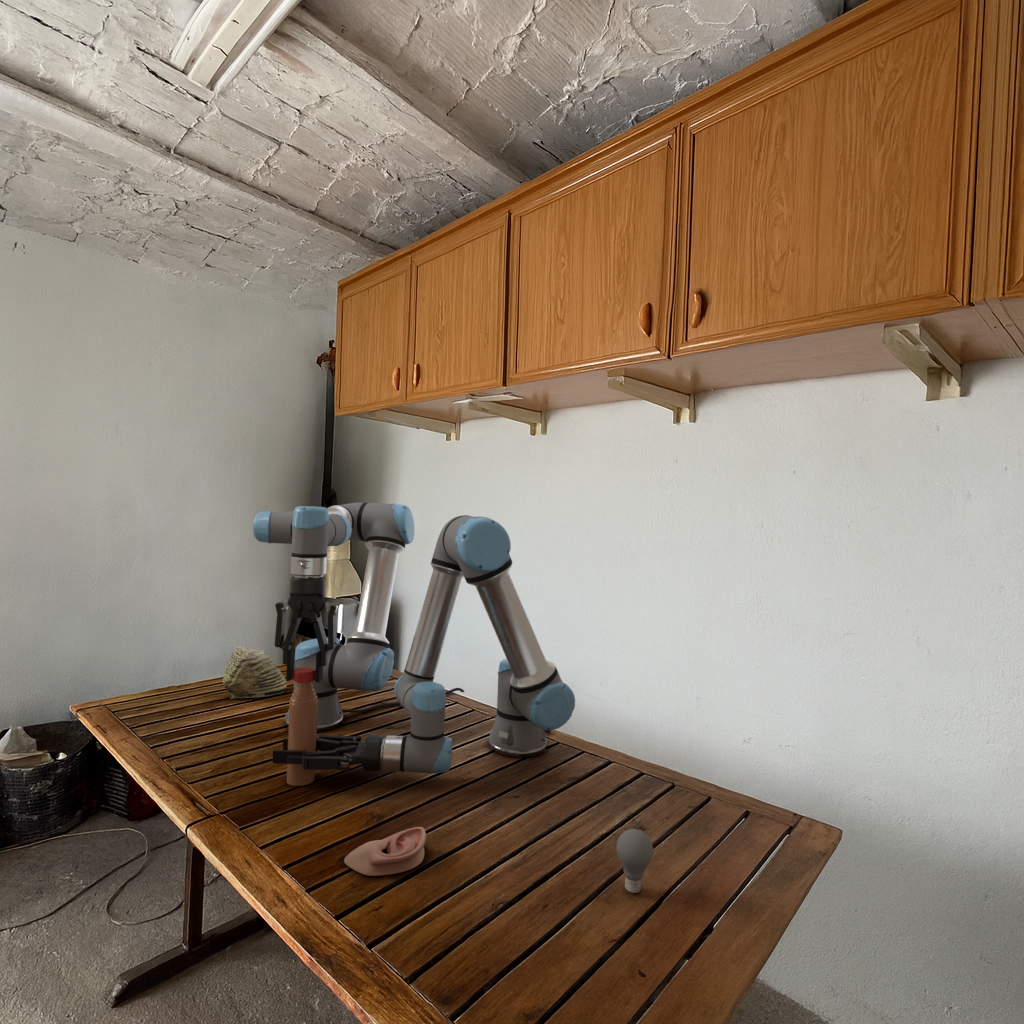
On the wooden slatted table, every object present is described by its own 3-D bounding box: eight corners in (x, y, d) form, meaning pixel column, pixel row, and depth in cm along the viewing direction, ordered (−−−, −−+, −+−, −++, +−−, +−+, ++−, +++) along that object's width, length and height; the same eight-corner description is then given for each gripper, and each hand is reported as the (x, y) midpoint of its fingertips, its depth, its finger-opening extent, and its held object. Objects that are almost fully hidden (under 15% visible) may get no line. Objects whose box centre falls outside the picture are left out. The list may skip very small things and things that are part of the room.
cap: (318, 681, 140) (318, 670, 140) (296, 684, 138) (297, 673, 138) (311, 676, 144) (312, 666, 144) (291, 678, 141) (291, 668, 141)
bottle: (281, 779, 141) (285, 671, 141) (306, 771, 145) (310, 667, 145) (294, 788, 137) (298, 677, 136) (319, 780, 141) (323, 673, 141)
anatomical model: (336, 847, 108) (365, 815, 119) (335, 870, 108) (364, 836, 119) (410, 859, 105) (432, 825, 116) (409, 883, 105) (431, 846, 116)
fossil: (218, 695, 195) (220, 647, 195) (278, 685, 208) (279, 640, 207) (228, 703, 189) (230, 653, 188) (289, 692, 201) (290, 645, 201)
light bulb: (610, 879, 108) (613, 822, 108) (644, 879, 109) (647, 822, 109) (619, 902, 102) (622, 840, 102) (655, 901, 103) (658, 840, 103)
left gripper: (259, 575, 137) (255, 682, 137) (345, 579, 136) (341, 686, 137) (273, 572, 144) (269, 673, 145) (355, 575, 144) (351, 677, 144)
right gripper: (374, 789, 132) (262, 786, 131) (389, 753, 151) (291, 750, 150) (375, 753, 132) (263, 750, 131) (390, 721, 151) (292, 718, 150)
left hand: (304, 679), depth 141 cm, fingers open, 6 cm apart
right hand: (278, 750), depth 141 cm, fingers closed on bottle, 6 cm apart
